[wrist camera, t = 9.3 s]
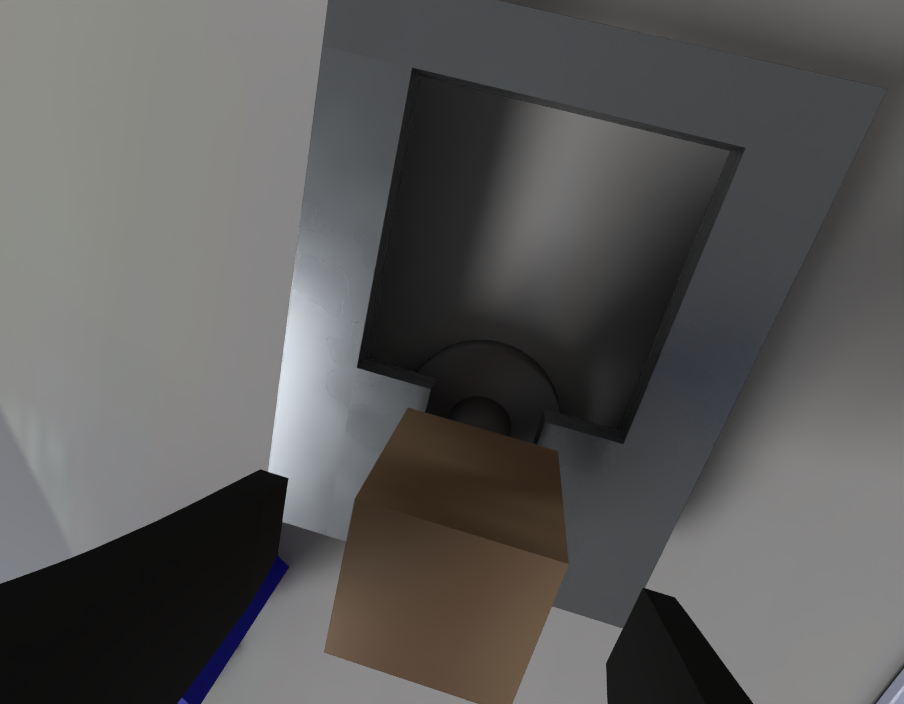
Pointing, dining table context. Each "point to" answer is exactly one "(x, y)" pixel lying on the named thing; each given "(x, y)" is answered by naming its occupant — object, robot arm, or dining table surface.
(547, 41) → the notched window frame
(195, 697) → the blue curved bracket
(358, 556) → the peg
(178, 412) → the dining table surface
